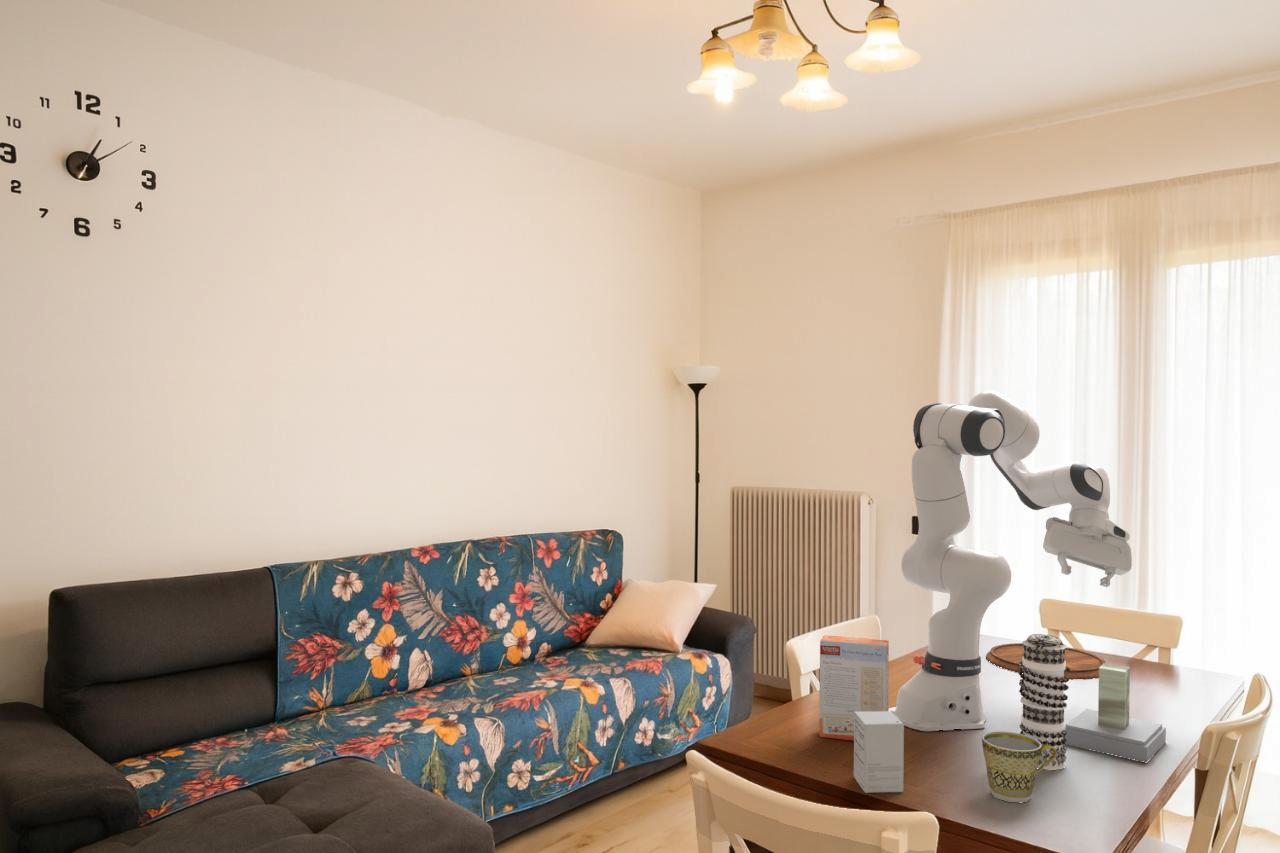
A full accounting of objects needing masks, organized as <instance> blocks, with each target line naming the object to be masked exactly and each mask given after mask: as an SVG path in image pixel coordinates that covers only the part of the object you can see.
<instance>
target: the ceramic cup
mask: <svg viewBox="0 0 1280 853" xmlns="http://www.w3.org/2000/svg"><path fill="white" fill-rule="evenodd" d="M981 745H982V749H983V751H982V752H983V757H984V760H985V767H986V774H987V778H988V779H987V780H988V786H989V787H988V788H989V792H990V794H991V793H992V794H993V795H994V796H993V795H992V794H991V795H992V796H993V797H994V798H995V797H996V798H999V799H1002V800H1005V801H1008V802H1007V803H1009V802H1022V803H1021V804H1024V803H1023V802H1026V803H1028V802H1029V801H1031V800H1032V798H1033V793H1034V786H1035V782H1036V777H1037V775H1038V773H1039V772H1041V771H1043V770H1042V769H1043V768H1044V767H1045V766H1046V765H1047V764H1049V763H1050V762H1052V761H1053V760H1054V759H1055V757H1056V750H1055V748H1054V747H1053V746H1051V745H1047V744H1045V745H1042V744H1041V743H1040V742H1039V741H1038V740H1036V739H1034V738H1032V737H1030V736H1027V735H1023V734H1020V732H1013V731H1003V730H1002V731H999V730H997V731H989V732H986V733H983V735H982V736H981ZM1046 749H1053V751H1054V755H1053V757H1052V758H1051V759H1049V760H1048V761H1046V762H1045V763H1044V764H1043V765H1042V766H1041V767H1040V768H1039V769H1037V768H1038V764H1039V759H1040V755H1041V753H1042V752H1043V751H1044V750H1046ZM996 798H995V799H996ZM999 799H998V800H999ZM1030 799H1031V800H1030ZM1002 800H1001V801H1002ZM1028 800H1029V801H1028ZM1005 801H1004V802H1005ZM1027 801H1028V802H1027Z"/></svg>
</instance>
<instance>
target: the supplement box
mask: <svg viewBox="0 0 1280 853" xmlns="http://www.w3.org/2000/svg"><path fill="white" fill-rule="evenodd" d="M904 729H905V726H904V724H903V723H902V722H901V721H900V720H899V719H898V718H897V717H896V716H895V715H894V714H893V713H892V712H891V711H879V712H854V741H853V777H854V779H855V781H856V782H857V784H858V786H860V788H861V789H862V791H863V792H864V793H865V794H867V793H903V792H904V766H905V765H904V754H905V753H904V750H905V749H904V747H905V740H904V739H905V736H904V735H905V732H904V731H905V730H904Z"/></svg>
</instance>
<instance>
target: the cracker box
mask: <svg viewBox="0 0 1280 853" xmlns="http://www.w3.org/2000/svg"><path fill="white" fill-rule="evenodd" d="M889 642H890V641H889V640H888V639H878V638H877V639H876V638H864V637H863V638H862V637H855V636H854V637H852V636H838V635H829V634H828V635H827V634H825V635H823V636H822V638H821V639H820V641H819V706H818V707H819V716H818V717H819V722H818V723H819V726H818V727H819V735H818V736H819V737H820V738H828V739H836V740H843V741H844V740H845V741H853V742H854V712H879V711H888V708H889V701H890V700H889V699H890V698H889V679H890V678H889V675H890V674H889V673H890V672H889V667H890V666H889V661H890V659H889V656H890V654H889V649H890V648H889Z"/></svg>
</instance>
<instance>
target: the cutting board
mask: <svg viewBox="0 0 1280 853" xmlns="http://www.w3.org/2000/svg"><path fill="white" fill-rule="evenodd" d="M1023 649H1024V644H1023V643H1022V642H1019V643H1004V644H998V645H995V646H993V647H992V648H990V650H989V651H988V652H987V653H986V656H985V658H987V659H986V660H989V661H990V662H991V663H993V664H995V665H997V666H999V667H998V668H1000V667H1002V668H1001V669H1003V668H1005V669H1008V670H1007V671H1009V670H1011V671H1010V672H1012V671H1015V672H1014V673H1017V672H1020V669H1021V668H1019V666H1018V665H1019V662H1020V661H1022V658H1023V656H1024V654H1023ZM989 661H988V662H989ZM1065 661H1066V667H1068V668H1070V671H1067V672H1066V671H1064V676H1066V677H1068V678H1069V680H1070V679H1071V680H1073V679H1083V680H1094V679H1093V678H1095V679H1099V667H1100V666H1101V665H1102V664H1103V663H1106V664H1107V662H1106V661H1105V659H1104V658H1102V657H1100V656H1098V655H1096V654H1094V653H1091V652H1088V651H1083V650H1080V649H1076V648H1072V647H1067V648H1065ZM990 662H989V663H990ZM991 663H990V664H991ZM993 664H992V665H993ZM995 665H994V666H995ZM997 666H996V667H997ZM1005 669H1004V670H1005ZM1071 680H1070V681H1071ZM1073 681H1074V680H1073Z"/></svg>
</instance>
